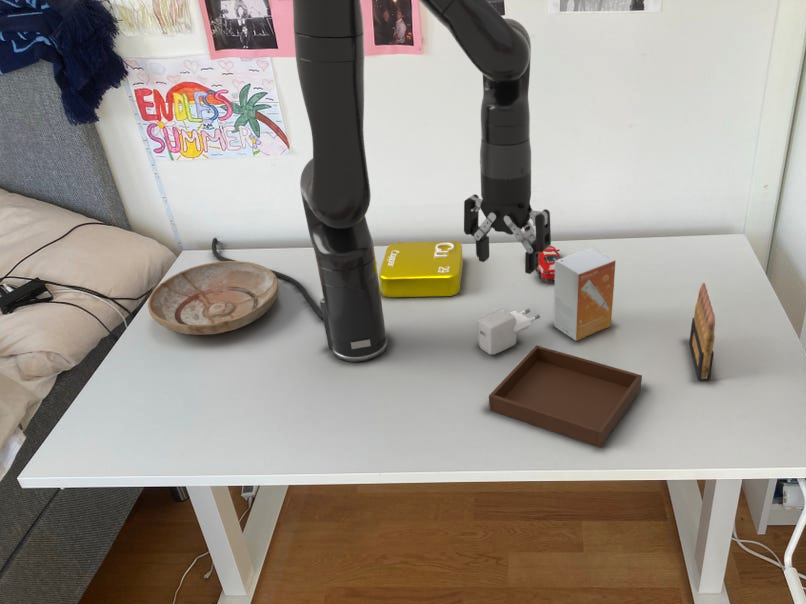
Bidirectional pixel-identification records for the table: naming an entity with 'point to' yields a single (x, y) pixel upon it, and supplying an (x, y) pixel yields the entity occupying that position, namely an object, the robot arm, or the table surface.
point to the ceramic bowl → (214, 297)
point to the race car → (547, 263)
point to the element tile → (421, 269)
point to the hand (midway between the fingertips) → (506, 265)
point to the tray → (566, 395)
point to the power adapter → (502, 329)
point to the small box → (583, 293)
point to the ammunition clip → (702, 336)
